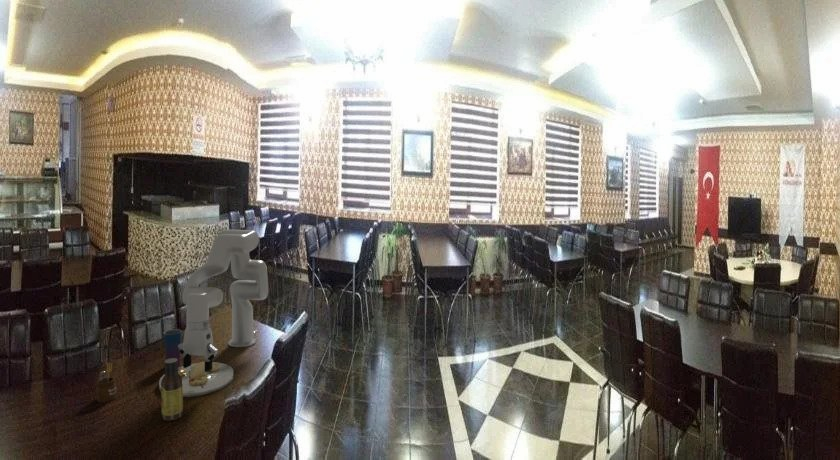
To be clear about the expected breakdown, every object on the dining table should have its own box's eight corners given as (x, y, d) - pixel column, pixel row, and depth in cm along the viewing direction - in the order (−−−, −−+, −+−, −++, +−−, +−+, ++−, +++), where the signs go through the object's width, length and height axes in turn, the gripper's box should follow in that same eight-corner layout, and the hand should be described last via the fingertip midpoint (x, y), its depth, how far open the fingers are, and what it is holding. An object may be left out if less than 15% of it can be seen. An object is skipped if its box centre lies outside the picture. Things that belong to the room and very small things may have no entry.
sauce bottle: (167, 412, 146) (166, 355, 144) (186, 411, 147) (185, 355, 145) (157, 422, 140) (156, 363, 138) (177, 422, 141) (177, 363, 139)
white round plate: (195, 364, 186) (195, 354, 185) (247, 373, 179) (247, 363, 178) (142, 390, 161) (142, 379, 160) (199, 402, 154) (199, 390, 153)
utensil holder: (93, 403, 150) (92, 370, 149) (101, 395, 156) (100, 363, 155) (112, 402, 151) (111, 369, 150) (119, 393, 157) (119, 362, 156)
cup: (160, 366, 181) (159, 332, 180) (175, 361, 187) (175, 328, 186) (170, 370, 178) (169, 335, 177) (185, 365, 184) (185, 331, 183)
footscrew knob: (197, 377, 167) (197, 360, 167) (211, 380, 166) (211, 362, 165) (182, 385, 160) (182, 367, 160) (196, 388, 159) (196, 370, 158)
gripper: (224, 324, 163) (223, 368, 164) (186, 319, 167) (186, 361, 168) (209, 330, 155) (209, 376, 157) (171, 324, 160) (171, 369, 161)
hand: (197, 368), depth 163 cm, fingers open, 9 cm apart
